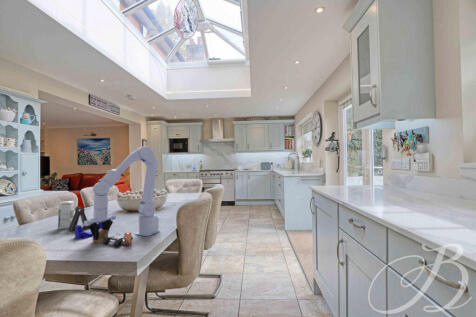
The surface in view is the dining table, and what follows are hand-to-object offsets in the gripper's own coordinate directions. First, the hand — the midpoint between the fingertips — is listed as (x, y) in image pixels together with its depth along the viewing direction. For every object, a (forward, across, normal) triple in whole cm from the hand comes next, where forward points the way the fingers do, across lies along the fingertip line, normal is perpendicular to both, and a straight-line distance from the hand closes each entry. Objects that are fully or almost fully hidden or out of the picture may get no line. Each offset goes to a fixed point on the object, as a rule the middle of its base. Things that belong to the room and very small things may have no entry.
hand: (100, 238), depth 113 cm
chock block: (+2, 0, 0) cm, 2 cm away
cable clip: (+2, -4, -13) cm, 14 cm away
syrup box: (+2, -9, -40) cm, 41 cm away
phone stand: (+2, -10, -30) cm, 32 cm away
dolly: (+1, -1, +10) cm, 10 cm away
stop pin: (+1, -1, +13) cm, 13 cm away
